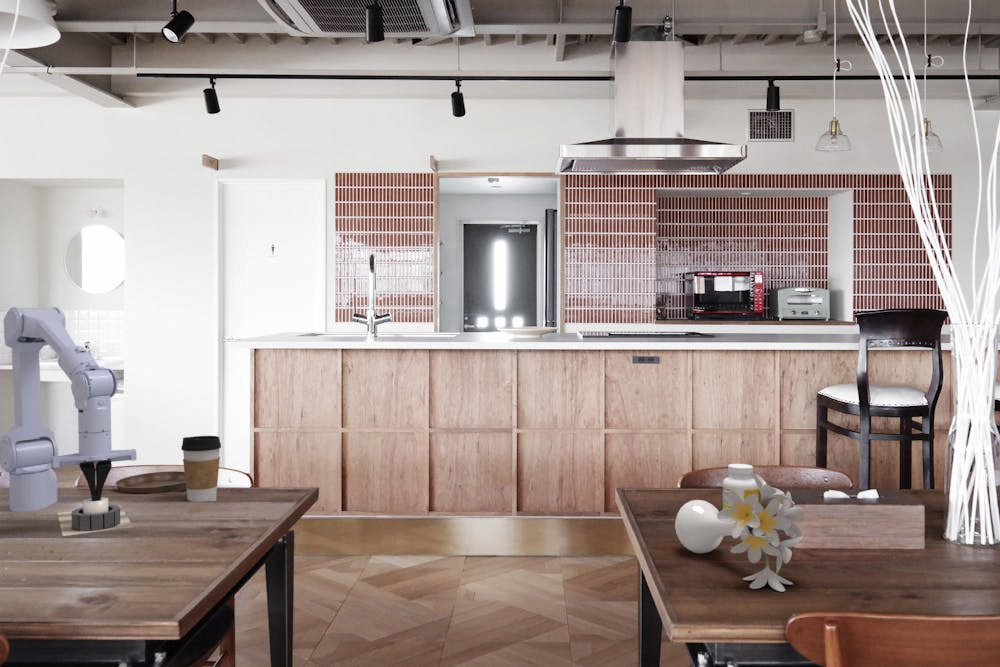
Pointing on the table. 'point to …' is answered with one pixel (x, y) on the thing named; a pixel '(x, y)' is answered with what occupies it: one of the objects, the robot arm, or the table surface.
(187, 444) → the coffee cup
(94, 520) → the dark grey segmented ring
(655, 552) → the table surface
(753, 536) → the flower vase
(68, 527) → the mount plate
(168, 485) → the plant saucer
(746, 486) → the supplement bottle
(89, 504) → the white cylinder
